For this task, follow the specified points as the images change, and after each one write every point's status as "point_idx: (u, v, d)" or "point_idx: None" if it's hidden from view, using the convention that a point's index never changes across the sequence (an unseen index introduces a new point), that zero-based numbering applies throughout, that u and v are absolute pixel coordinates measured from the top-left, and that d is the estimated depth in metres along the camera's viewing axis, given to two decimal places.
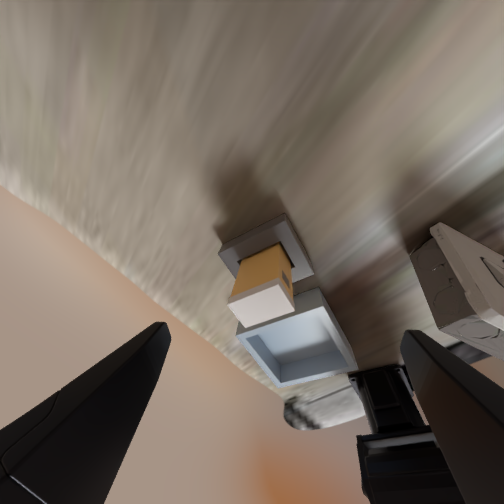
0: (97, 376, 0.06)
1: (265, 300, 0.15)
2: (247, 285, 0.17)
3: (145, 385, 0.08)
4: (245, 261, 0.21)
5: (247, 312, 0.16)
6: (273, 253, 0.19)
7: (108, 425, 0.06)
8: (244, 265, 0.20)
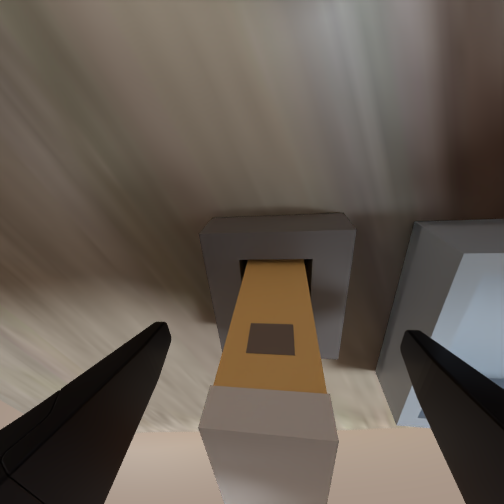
0: (97, 376, 0.06)
1: (248, 467, 0.05)
2: None
3: (145, 385, 0.08)
4: None
5: (272, 501, 0.05)
6: None
7: (108, 425, 0.06)
8: None
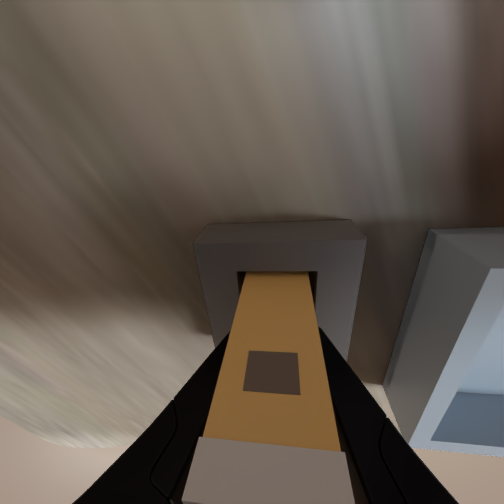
0: (206, 384, 0.06)
1: None
2: None
3: None
4: None
5: None
6: None
7: None
8: None
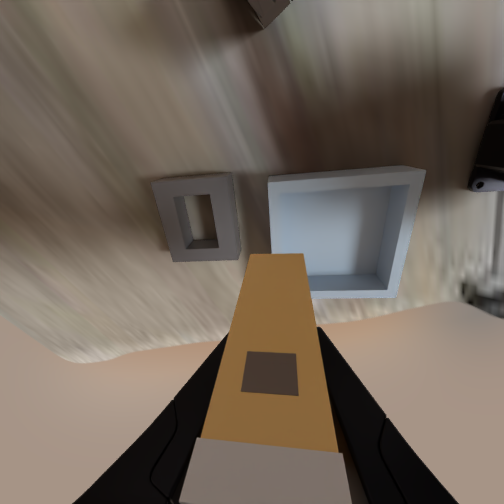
0: (207, 384, 0.06)
1: None
2: None
3: None
4: None
5: None
6: None
7: None
8: None
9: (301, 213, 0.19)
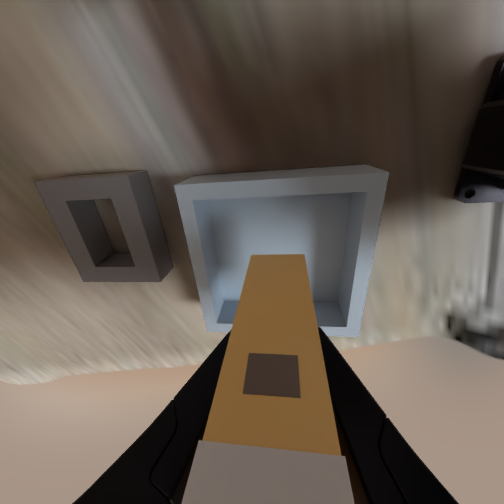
0: (207, 384, 0.06)
1: None
2: None
3: None
4: None
5: None
6: None
7: None
8: None
9: (238, 225, 0.14)
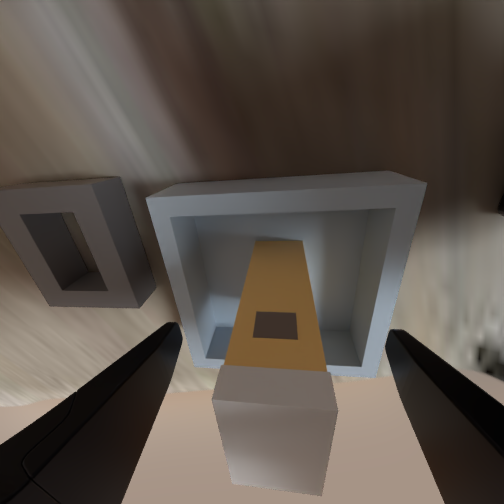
0: (113, 377, 0.06)
1: (255, 439, 0.05)
2: None
3: (159, 386, 0.08)
4: None
5: (276, 474, 0.06)
6: None
7: (124, 427, 0.06)
8: None
9: (230, 242, 0.12)
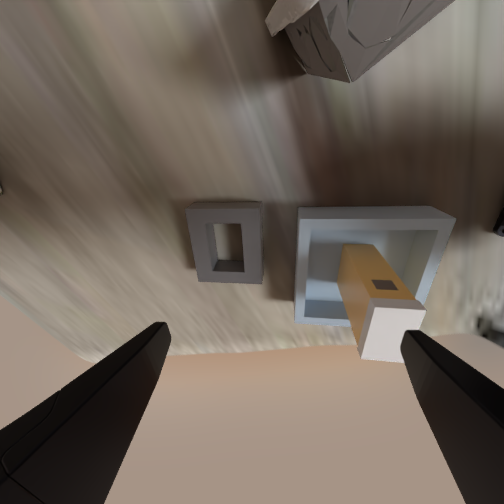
0: (97, 376, 0.06)
1: (385, 327, 0.12)
2: (359, 323, 0.14)
3: (145, 385, 0.08)
4: (342, 293, 0.19)
5: (386, 349, 0.13)
6: (351, 268, 0.16)
7: (108, 425, 0.06)
8: (344, 298, 0.18)
9: (326, 244, 0.19)
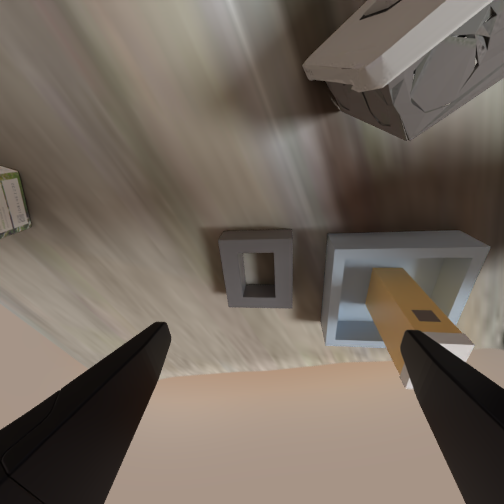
0: (97, 376, 0.06)
1: None
2: (400, 352, 0.15)
3: (145, 385, 0.08)
4: (374, 316, 0.19)
5: None
6: (386, 295, 0.17)
7: (108, 425, 0.06)
8: (377, 323, 0.18)
9: (356, 268, 0.20)
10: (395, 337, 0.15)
